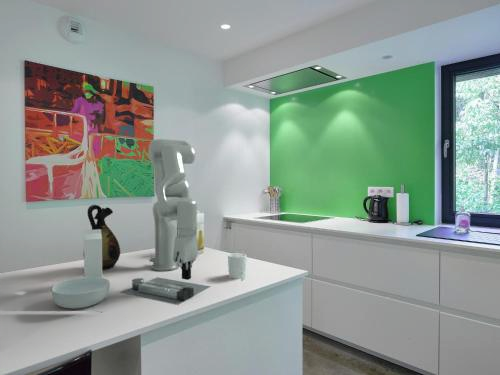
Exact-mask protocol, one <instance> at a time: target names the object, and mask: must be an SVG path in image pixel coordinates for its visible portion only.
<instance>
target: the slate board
mask: <svg viewBox="0 0 500 375" xmlns="http://www.w3.org/2000/svg"><path fill="white" fill-rule="evenodd" d="M148 281H155V282H160V283H166V284H171V285H177V286H182V287H190V288H194V296H192V297H190V298H188V299H187V300H189V299H192V298H193V297H195V296H196V295H198V294H200V293H202V292H204V291H206V290H208V289H209V288H210V287H211V286H209V285H204V284H199V283H194V282H186V281H183V280H181V281H180V280H176V279H175V280H174V279H169V278H164V277H155V278H152V279H150V280H148ZM145 282H146V281H144V283H145ZM119 294H125V295H128V296H132V297H136V298H137V297H139V298H143V299H148V300H153V301H157V302H163V303H167V304H171V305H177V306H178V305H180V304H182V303H184V302H186V301H187V300H185V301H181V300H177V299H174V298H169V297H164V296H159V295H154V294H149V293H144V292H139V290H134V289H132V287H130V288H127V289H125V290H122V291H120V292H119Z"/></svg>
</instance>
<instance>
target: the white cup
mask: <svg viewBox="0 0 500 375" xmlns="http://www.w3.org/2000/svg"><path fill="white" fill-rule="evenodd" d="M247 257H248V256H247V254H246V253H242V252H233V253H229V254H227V263H228V264H227V265H228V266H227V267H228V276H229V279H230V278H231V279H234V280H235V279H236V280H237V279H239V280H240V281H244V280H245V279H246V272H247Z"/></svg>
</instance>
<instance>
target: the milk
mask: <svg viewBox="0 0 500 375" xmlns="http://www.w3.org/2000/svg"><path fill="white" fill-rule="evenodd" d="M83 253H84V256H83V261H84V262H83V263H84V264H83V265H84V266H83V269H84V270H83V272H84V277H100V278H103V270H102V235H101V229H97V230H92V229H86V230H84V232H83Z"/></svg>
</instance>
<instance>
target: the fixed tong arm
mask: <svg viewBox="0 0 500 375" xmlns="http://www.w3.org/2000/svg"><path fill="white" fill-rule="evenodd" d="M139 292H144V293H149V294H154V295H159V296H164V297H169V298H174V299H177V300H181V301H184V302H186V301H187V299H188V298H189V291H187V290H179V289H174V288H168V287H163V286H157V285H152V284H146V283H142V284H139ZM185 300H186V301H185ZM188 300H189V299H188Z"/></svg>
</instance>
